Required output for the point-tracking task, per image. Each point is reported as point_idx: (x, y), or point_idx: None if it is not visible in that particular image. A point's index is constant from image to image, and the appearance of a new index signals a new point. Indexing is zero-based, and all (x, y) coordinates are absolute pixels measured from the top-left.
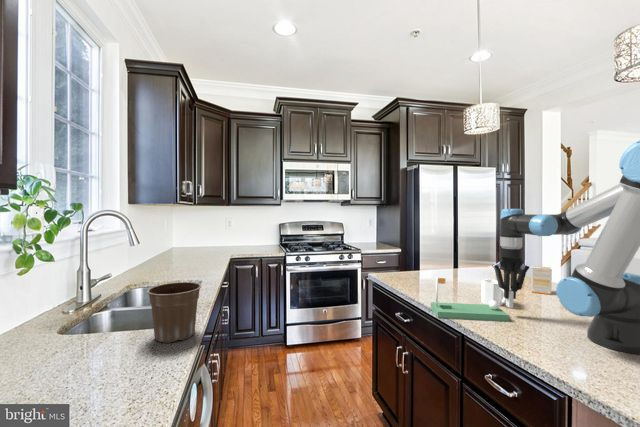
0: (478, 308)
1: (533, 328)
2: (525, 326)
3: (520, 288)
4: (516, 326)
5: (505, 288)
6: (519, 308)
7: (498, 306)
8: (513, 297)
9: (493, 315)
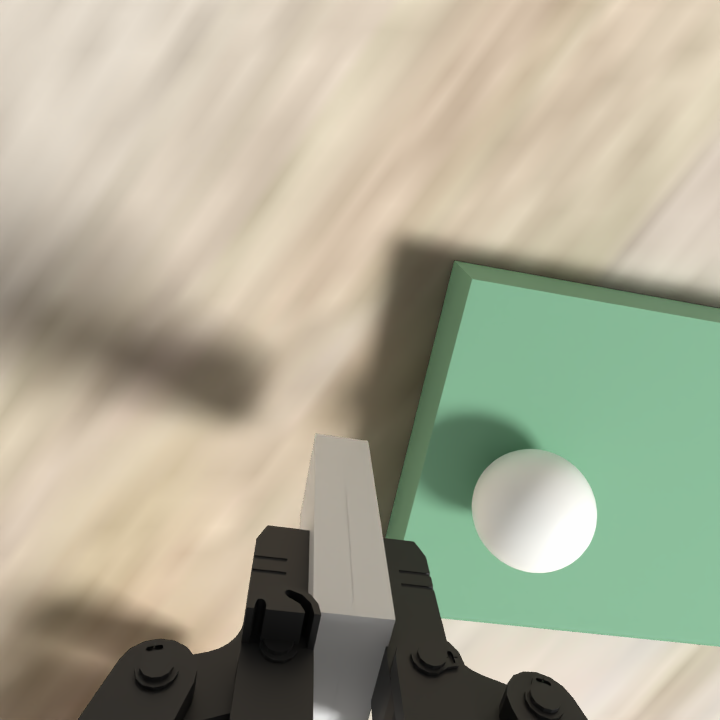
0: (674, 506)
1: (305, 15)
2: (363, 91)
3: (149, 659)
4: (478, 98)
5: (466, 695)
6: (58, 626)
7: (505, 465)
8: (294, 545)
9: (650, 306)
